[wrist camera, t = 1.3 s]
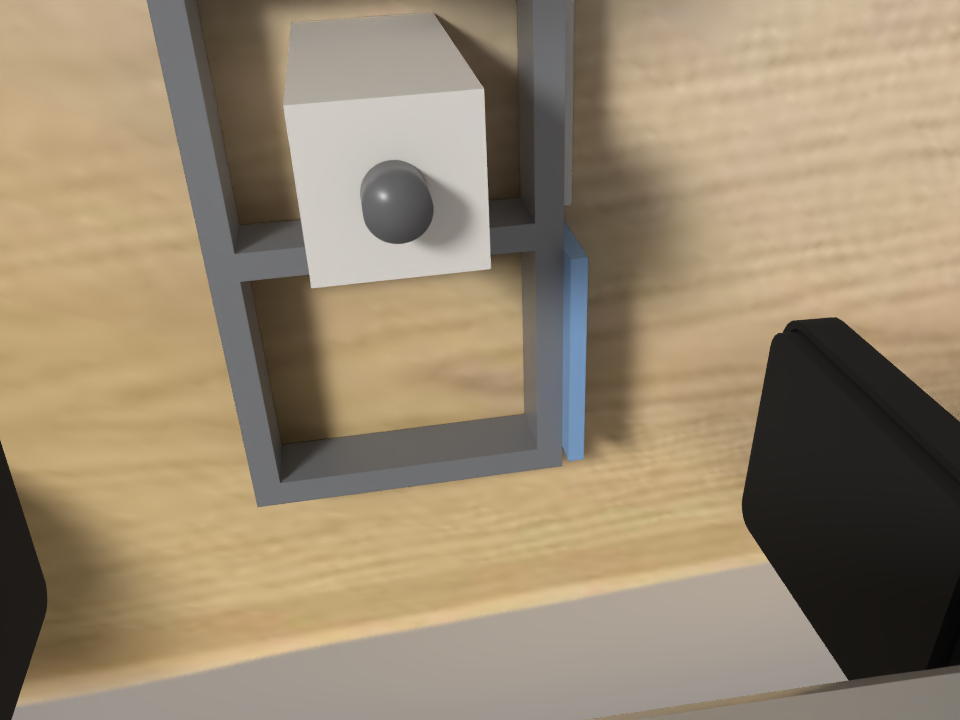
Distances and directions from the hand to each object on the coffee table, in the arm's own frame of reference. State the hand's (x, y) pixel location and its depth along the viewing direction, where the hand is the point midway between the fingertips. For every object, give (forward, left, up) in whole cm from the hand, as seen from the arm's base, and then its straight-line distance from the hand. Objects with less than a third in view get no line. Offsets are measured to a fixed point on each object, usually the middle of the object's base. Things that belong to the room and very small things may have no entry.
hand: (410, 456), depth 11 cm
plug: (-1, +1, -22) cm, 22 cm away
